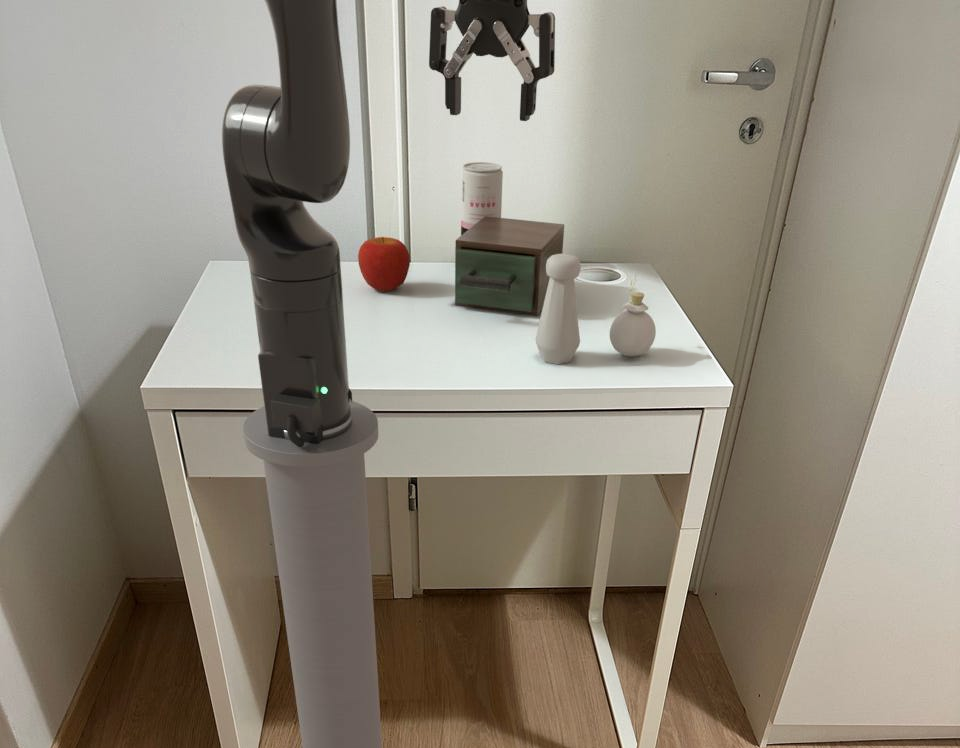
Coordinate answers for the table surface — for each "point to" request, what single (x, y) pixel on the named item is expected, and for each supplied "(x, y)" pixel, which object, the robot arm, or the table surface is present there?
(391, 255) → the apple
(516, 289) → the drawer
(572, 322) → the salt shaker
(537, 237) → the cabinet
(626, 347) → the ornament
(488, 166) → the beverage can
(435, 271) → the table surface
